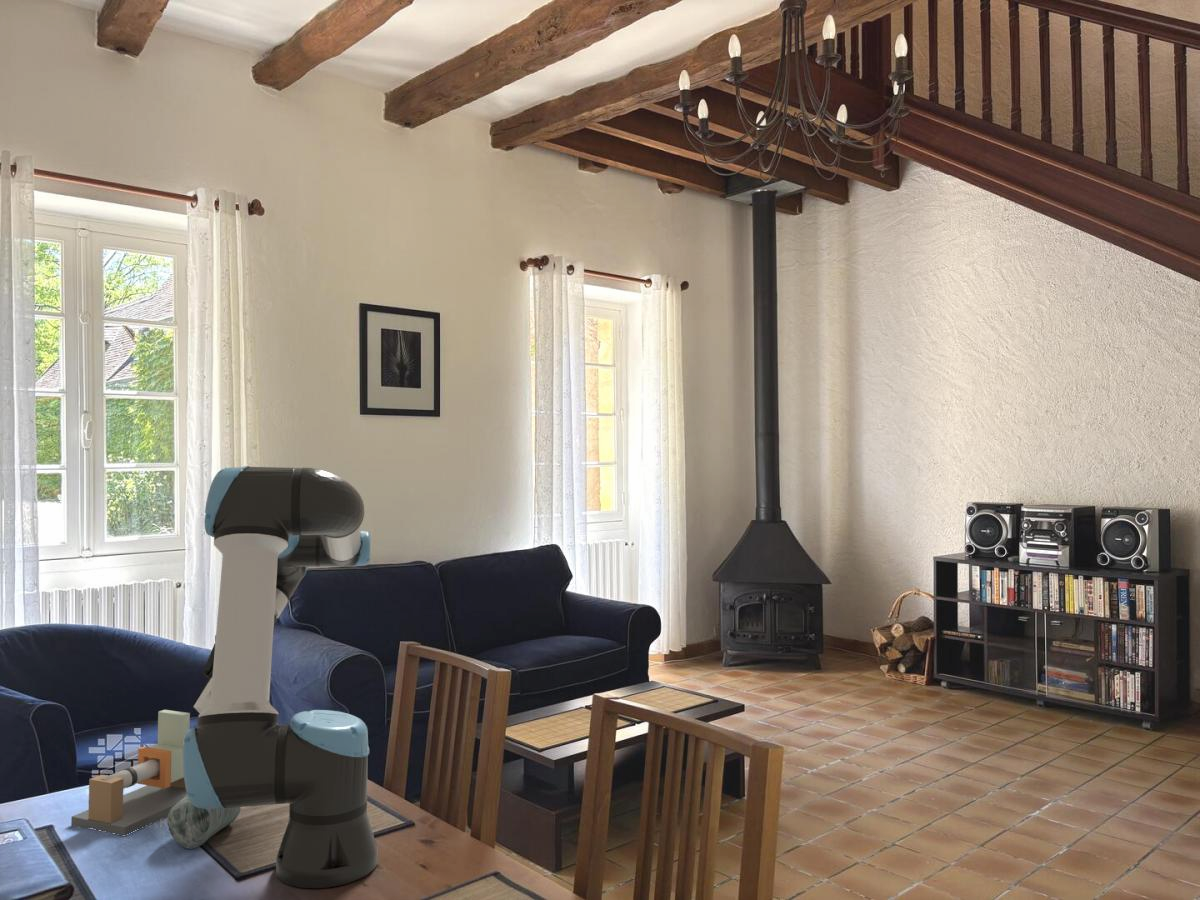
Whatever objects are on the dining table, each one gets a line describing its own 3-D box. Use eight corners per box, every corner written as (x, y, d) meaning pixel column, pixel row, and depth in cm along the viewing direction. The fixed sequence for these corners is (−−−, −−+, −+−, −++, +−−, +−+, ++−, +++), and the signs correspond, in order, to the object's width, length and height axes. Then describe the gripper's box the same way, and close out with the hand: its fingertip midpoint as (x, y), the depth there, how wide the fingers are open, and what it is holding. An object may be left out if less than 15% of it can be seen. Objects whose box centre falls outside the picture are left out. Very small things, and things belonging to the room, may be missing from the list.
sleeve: (188, 775, 166) (189, 713, 166) (171, 783, 162) (172, 718, 162) (163, 771, 168) (164, 709, 168) (146, 778, 164) (147, 715, 164)
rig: (213, 794, 168) (214, 748, 168) (124, 836, 149) (126, 784, 149) (163, 786, 172) (164, 741, 172) (71, 825, 153) (72, 775, 153)
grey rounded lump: (209, 838, 141) (195, 775, 145) (159, 861, 142) (146, 799, 146) (261, 826, 154) (247, 769, 157) (215, 848, 155) (202, 791, 159)
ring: (170, 786, 162) (171, 750, 162) (165, 788, 161) (165, 752, 161) (142, 781, 164) (143, 746, 164) (137, 783, 163) (138, 748, 163)
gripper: (295, 623, 189) (236, 724, 173) (245, 619, 193) (183, 717, 178) (278, 602, 184) (216, 704, 168) (227, 598, 189) (163, 697, 173)
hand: (200, 710), depth 173 cm, fingers closed
